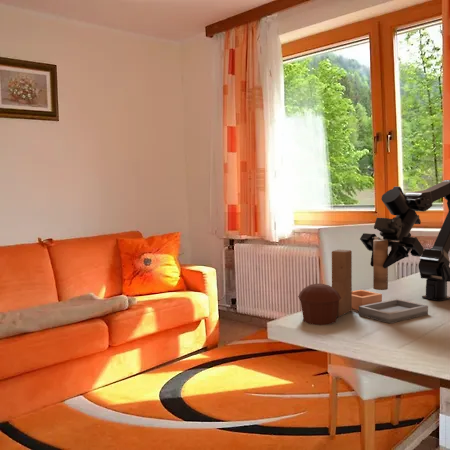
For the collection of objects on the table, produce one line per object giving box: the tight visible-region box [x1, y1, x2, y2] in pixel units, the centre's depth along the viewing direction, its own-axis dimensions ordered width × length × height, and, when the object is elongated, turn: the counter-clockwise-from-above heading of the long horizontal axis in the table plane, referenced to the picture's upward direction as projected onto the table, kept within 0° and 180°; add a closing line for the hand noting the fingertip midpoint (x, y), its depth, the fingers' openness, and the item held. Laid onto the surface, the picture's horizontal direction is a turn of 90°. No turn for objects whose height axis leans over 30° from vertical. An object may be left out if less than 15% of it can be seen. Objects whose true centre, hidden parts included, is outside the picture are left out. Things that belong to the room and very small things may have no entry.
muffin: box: [297, 283, 341, 326], centre depth 140 cm, size 12×11×10 cm
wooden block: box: [331, 249, 353, 318], centre depth 148 cm, size 9×4×18 cm, turn 143°
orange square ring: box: [352, 289, 383, 311], centre depth 155 cm, size 8×8×4 cm
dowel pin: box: [372, 240, 389, 291], centre depth 147 cm, size 4×4×14 cm
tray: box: [358, 298, 429, 324], centre depth 145 cm, size 16×11×2 cm
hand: (377, 266), depth 147 cm, fingers closed on dowel pin, 4 cm apart
